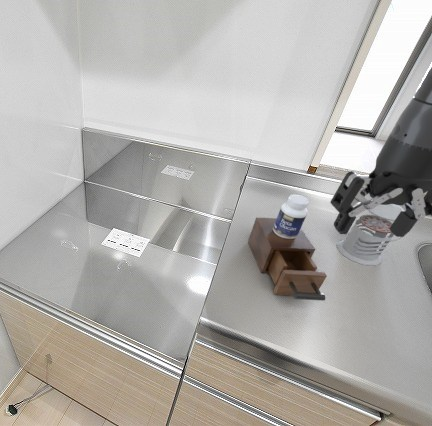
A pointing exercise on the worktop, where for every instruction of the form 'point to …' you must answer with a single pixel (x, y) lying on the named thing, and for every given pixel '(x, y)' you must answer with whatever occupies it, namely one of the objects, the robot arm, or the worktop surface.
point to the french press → (367, 244)
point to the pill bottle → (291, 217)
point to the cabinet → (274, 242)
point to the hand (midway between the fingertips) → (367, 232)
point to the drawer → (296, 275)
